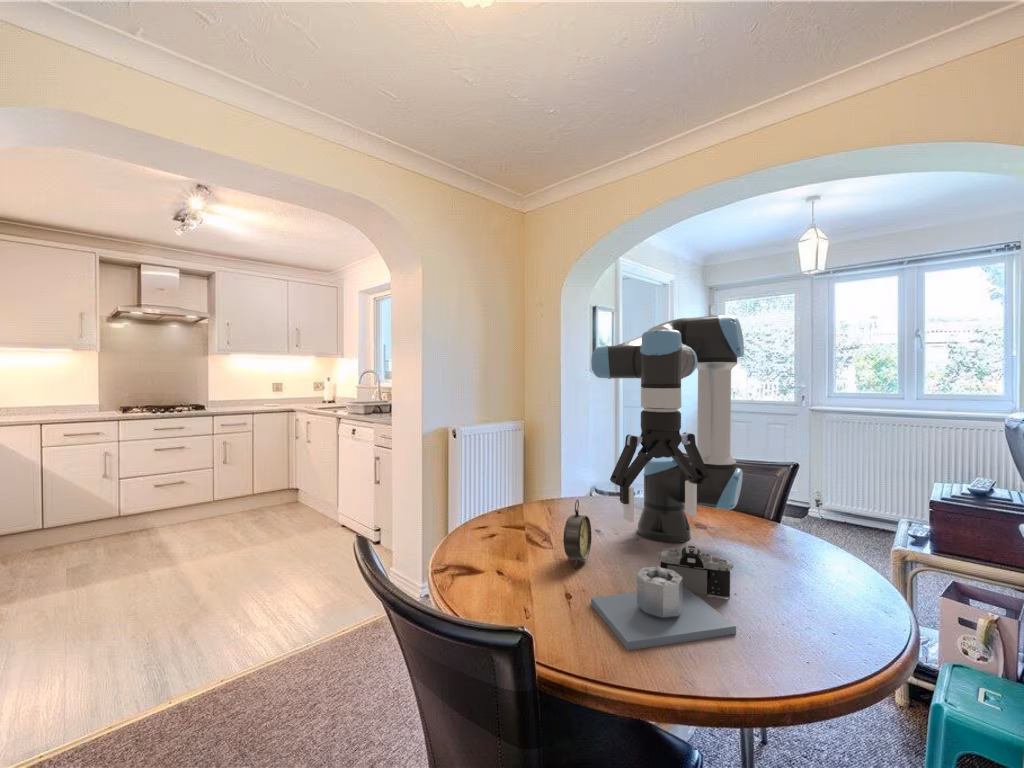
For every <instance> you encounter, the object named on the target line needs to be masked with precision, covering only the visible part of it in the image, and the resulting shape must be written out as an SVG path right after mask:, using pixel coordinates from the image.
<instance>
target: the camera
mask: <svg viewBox="0 0 1024 768" xmlns="http://www.w3.org/2000/svg"><path fill="white" fill-rule="evenodd" d="M657 557H658V558H659V559H658V560H660V562H659V563H660V565H659V567H661V568H665V569H670V570H673V571H675V572H676V573H677V574H679V575H680V576H681V577H683V586H685V587H686V588H687V589H688V590H690V591H691V592H692V593H694V594H695V595H696V596H700V597H701V596H702V597H707V596H708V598H713V597H716V598H715V599H719V598H724V599H723V600H726V599H725V598H729V599H730V597H731V571H732V569H733V567H734V565H733V564H732V563H730V560H728V559H725V558H720V556H718V555H716V554H713V555H711V554H709V553H706V552H702V551H701V550H700V549H699V548H698V546H694V545H685V546H684V547H683V548H680V550H679V549H677V548H675V547H674V548H672V547H671V548H668V549H667V550H666V551H665V550H663V551H661V553H660V554H658V555H657Z"/></svg>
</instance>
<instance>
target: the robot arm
mask: <svg viewBox="0 0 1024 768" xmlns="http://www.w3.org/2000/svg"><path fill="white" fill-rule="evenodd" d="M744 354H745V343H744V335H743V331H742V326H741V323H740V320H739V319H738V317H736V316H735V315H724V314H723V315H710V316H709V315H708V316H697V317H681V318H676V319H672V320H669V321H665V322H663V323H661V324H658V325H656V326H653V327H651V328H649V329H647V331H645V332H643V333H642V335H640V336H637V337H635V338H633V339H630V340H627V341H625V342H623V343H619V344H617V345H616V344H615V345H605V346H598V347H596V348H594V350H593V351H592V353H591V361H590V362H591V370H592V372H593V374H594V376H595V377H596V378H599V379H607V380H611V379H640V407H641V408H642V410H641V411H640V430H641V433H640V435H639V436H636V435H634V434H627V435H626V436H625V441H624V447H623V449H622V452H621V454H620V456H619V458H618V460H617V462H616V464H615V467H614V468H613V471H612V474H611V476H610V478H609V480H610V482H611V483H612V484H615V485H616V486H619V501H620V503H621V504H623V519H624V520H626V521H628V522H629V523H634V522H635V502H634V501H635V488H634V487H633V486H632V484H633V483H634V482H635V480H636V479H637V477H638V476H639V474H640V473H641V472H642V470H643V469H644V470H643V474H642V475H643V508H642V511H641V514H640V517H639V520H638V524H637V533H638V534H639V536H641V537H643V538H645V539H647V540H651V541H654V542H660V543H666V544H667V543H668V544H669V543H670V544H674V543H675V544H676V543H683V542H684V543H685V542H687V541H689V540H690V539H691V532H692V531H691V527H690V523H689V520H688V517H687V515H689V516H691V517H693V518H696V517H698V516H697V515H698V514H697V511H698V509H697V508H698V506H700V507H701V506H702V507H705V508H706V507H707V508H713V509H716V510H718V509H720V510H721V509H722V510H727V511H729V510H730V511H731V510H734V509H735V508H736V506H737V504H738V502H739V499H740V495H741V489H742V485H743V476H744V475H743V473H744V472H743V469H742V468H739V467H737V460H735V458H734V457H733V456H731V432H732V431H731V429H732V428H731V427H732V426H731V424H732V423H731V421H732V420H731V418H732V417H731V416H732V414H731V413H732V411H731V410H732V409H731V407H732V369H733V368H734V367H735V366H737V365H738V358H741V357H743V356H744ZM696 369H697V431H696V432H697V434H696V435H695V434H693V433H691V432H687V431H686V432H683V433H682V434H681V432H680V431H681V429H682V412H681V411H679V409H681V408H682V380H684V378H685V379H686V378H687V377H689V376H691V375H692V374H693V373H694V372H695V370H696ZM696 436H697V437H696ZM696 438H697V439H696ZM696 440H697V441H696ZM696 442H697V443H696ZM640 444H641V446H642V447H641V448H640V450H638V452H637V456H636V457H635V458H634V456H635V454H636V451H637V448H638V447H639V446H640ZM680 444H682V445H683V447H684V450H685V452H686V454H687V456H688V459H689V461H690V462H689V461H688V459H687V458H686V457H685V455H684V453H683V452H682V450H681V449H680V448H679V446H680ZM633 459H634V460H633Z"/></svg>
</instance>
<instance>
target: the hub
mask: <svg viewBox="0 0 1024 768" xmlns="http://www.w3.org/2000/svg"><path fill="white" fill-rule="evenodd" d="M655 577H659V578H664V579H666V580H667V581H664V582H661V581H657V580H652V578H655ZM636 592H637V605H638V606H639V607H640V608H641V609H642V610H643V611H644V612H645V613H648V614H652V615H656V616H659V617H663V618H664V617H671V616H679V614H680V612H681V610H682V603H683V577H681V576H680V575H679V574H677V573H676V572H675V571H673V570H670V569H665V568H661V567H660V566H649V567H641V568H640V569H639V571H637V574H636Z"/></svg>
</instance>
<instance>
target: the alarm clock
mask: <svg viewBox="0 0 1024 768" xmlns="http://www.w3.org/2000/svg"><path fill="white" fill-rule="evenodd" d="M579 505H580V501H579V499H578V498H577V499H576V500H575V503H574V513H575V514H571V515H569V516H568V517H567V519H566V522H565V525H564V530H563V540H562V542H563V548H564V552H565V555H566V556H567V558H568V560H575V563H574V564H575V565H574V570H577V569H578V565H579V561H586V560H587V559H588V557H589V555H590V553H591V552H590V551H591V546H592V526H591V520H590V518H589V516H587V515H581V514H579V508H580V507H579Z"/></svg>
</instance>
